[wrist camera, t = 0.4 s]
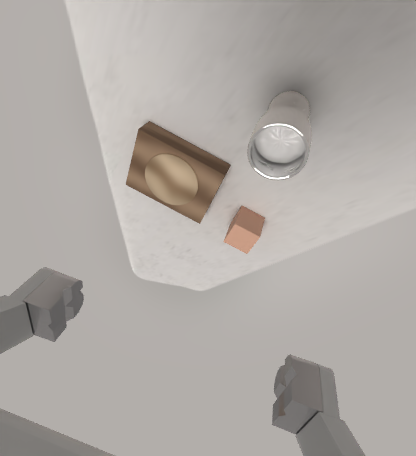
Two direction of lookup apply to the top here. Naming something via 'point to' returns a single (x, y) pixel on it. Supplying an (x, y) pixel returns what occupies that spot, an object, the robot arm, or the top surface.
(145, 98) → the top surface
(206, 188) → the block
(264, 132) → the beer glass
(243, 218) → the terracotta block
